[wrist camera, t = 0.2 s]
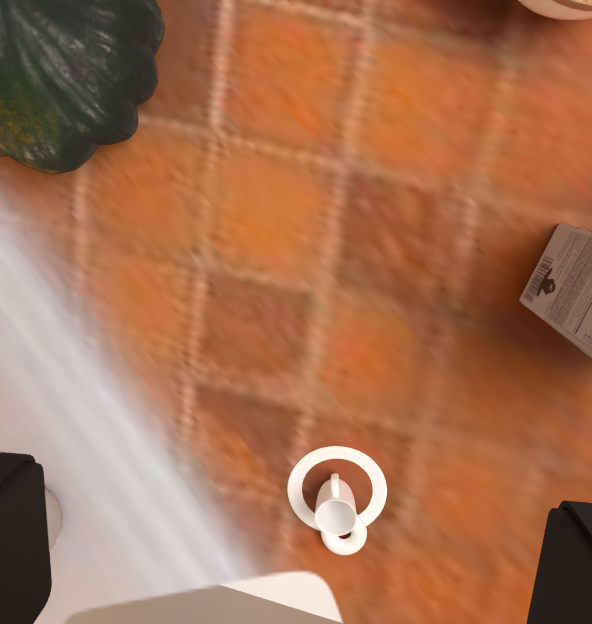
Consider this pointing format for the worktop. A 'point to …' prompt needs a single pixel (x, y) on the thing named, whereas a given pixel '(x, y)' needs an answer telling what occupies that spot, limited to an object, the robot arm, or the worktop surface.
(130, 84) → the squash
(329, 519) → the teacup and saucer
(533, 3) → the lidded jar
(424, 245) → the worktop surface
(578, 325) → the coffee box
